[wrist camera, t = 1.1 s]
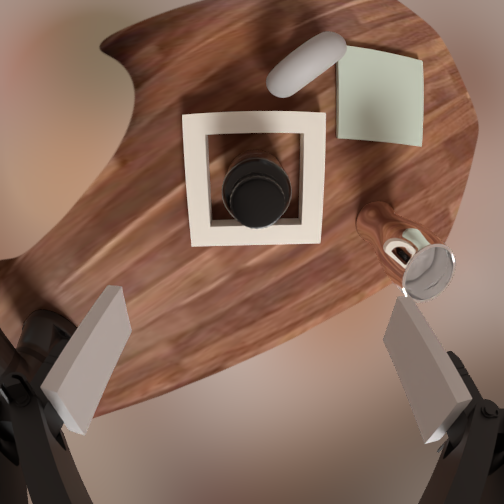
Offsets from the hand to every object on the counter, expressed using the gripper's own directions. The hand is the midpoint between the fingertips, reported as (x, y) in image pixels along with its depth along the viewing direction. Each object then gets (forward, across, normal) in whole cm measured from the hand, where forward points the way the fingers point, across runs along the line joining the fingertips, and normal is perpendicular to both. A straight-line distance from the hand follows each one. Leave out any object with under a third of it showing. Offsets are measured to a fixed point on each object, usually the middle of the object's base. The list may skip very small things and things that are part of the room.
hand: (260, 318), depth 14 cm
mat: (+27, -15, -13) cm, 33 cm away
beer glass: (+27, -16, +4) cm, 32 cm away
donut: (+27, -4, -14) cm, 31 cm away
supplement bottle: (+26, +1, -1) cm, 26 cm away
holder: (+26, +1, -1) cm, 26 cm away
